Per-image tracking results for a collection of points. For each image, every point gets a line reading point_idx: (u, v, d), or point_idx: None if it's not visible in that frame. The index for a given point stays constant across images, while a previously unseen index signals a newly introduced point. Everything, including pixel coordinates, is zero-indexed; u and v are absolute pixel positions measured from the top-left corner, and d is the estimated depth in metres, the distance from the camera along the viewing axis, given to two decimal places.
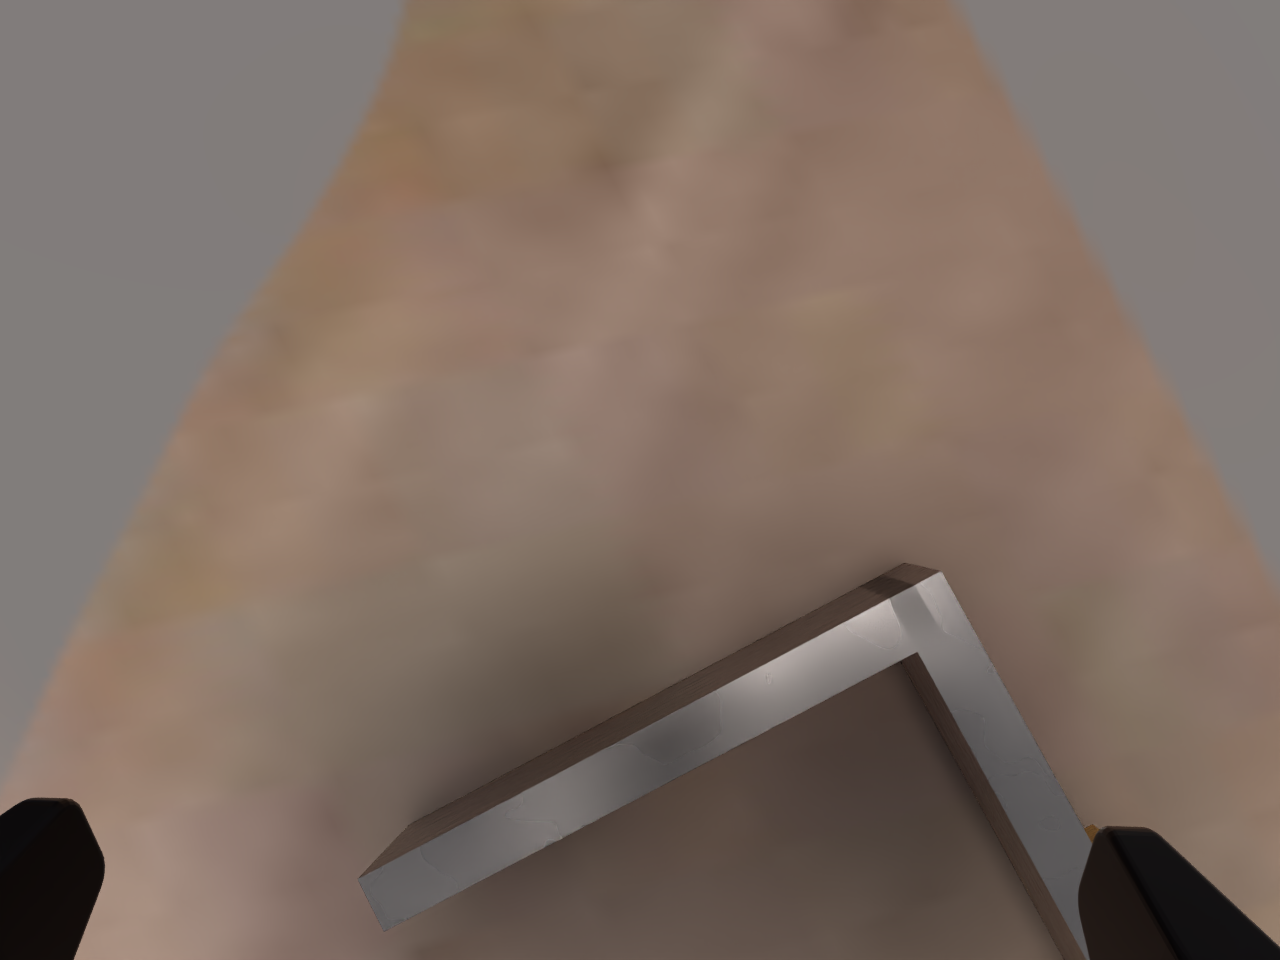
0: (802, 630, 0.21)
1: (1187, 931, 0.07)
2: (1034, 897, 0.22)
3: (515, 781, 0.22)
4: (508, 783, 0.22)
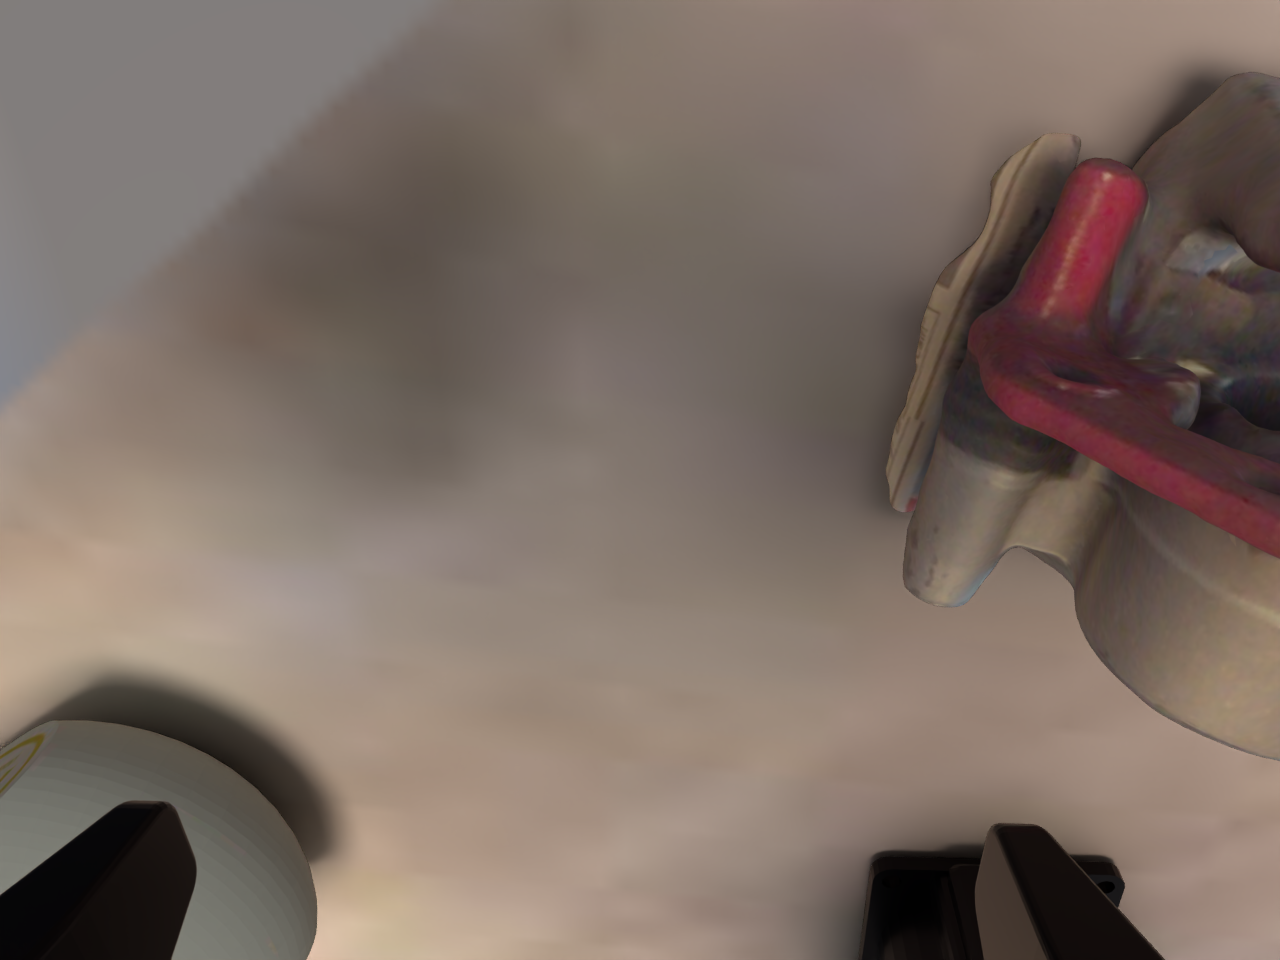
0: None
1: (1060, 927, 0.07)
2: None
3: None
4: None
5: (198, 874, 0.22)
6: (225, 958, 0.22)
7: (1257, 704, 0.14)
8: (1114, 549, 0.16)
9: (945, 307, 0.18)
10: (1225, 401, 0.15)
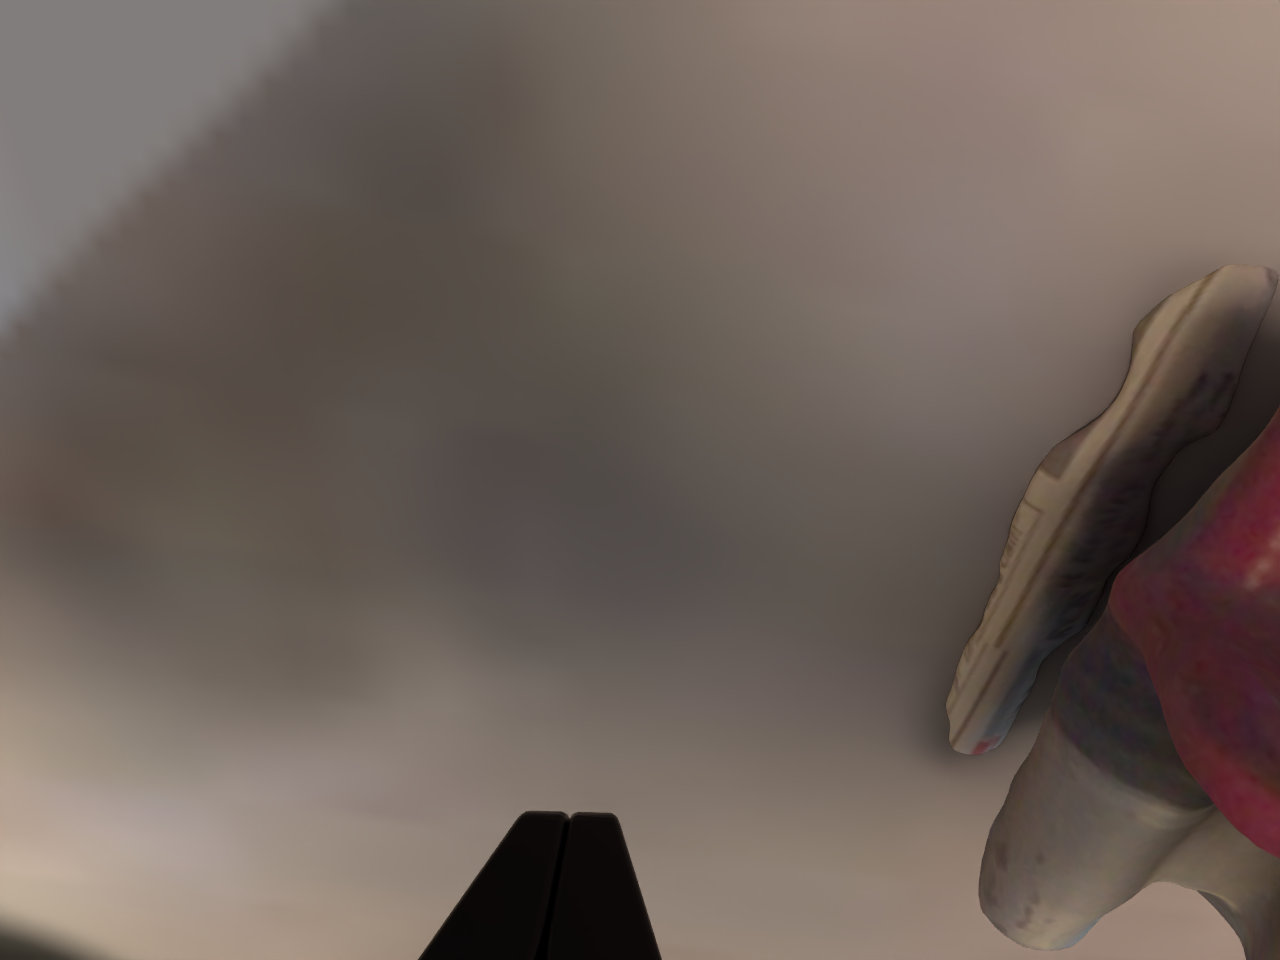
0: None
1: (572, 910, 0.07)
2: None
3: None
4: None
5: None
6: None
7: None
8: None
9: (1052, 505, 0.12)
10: None
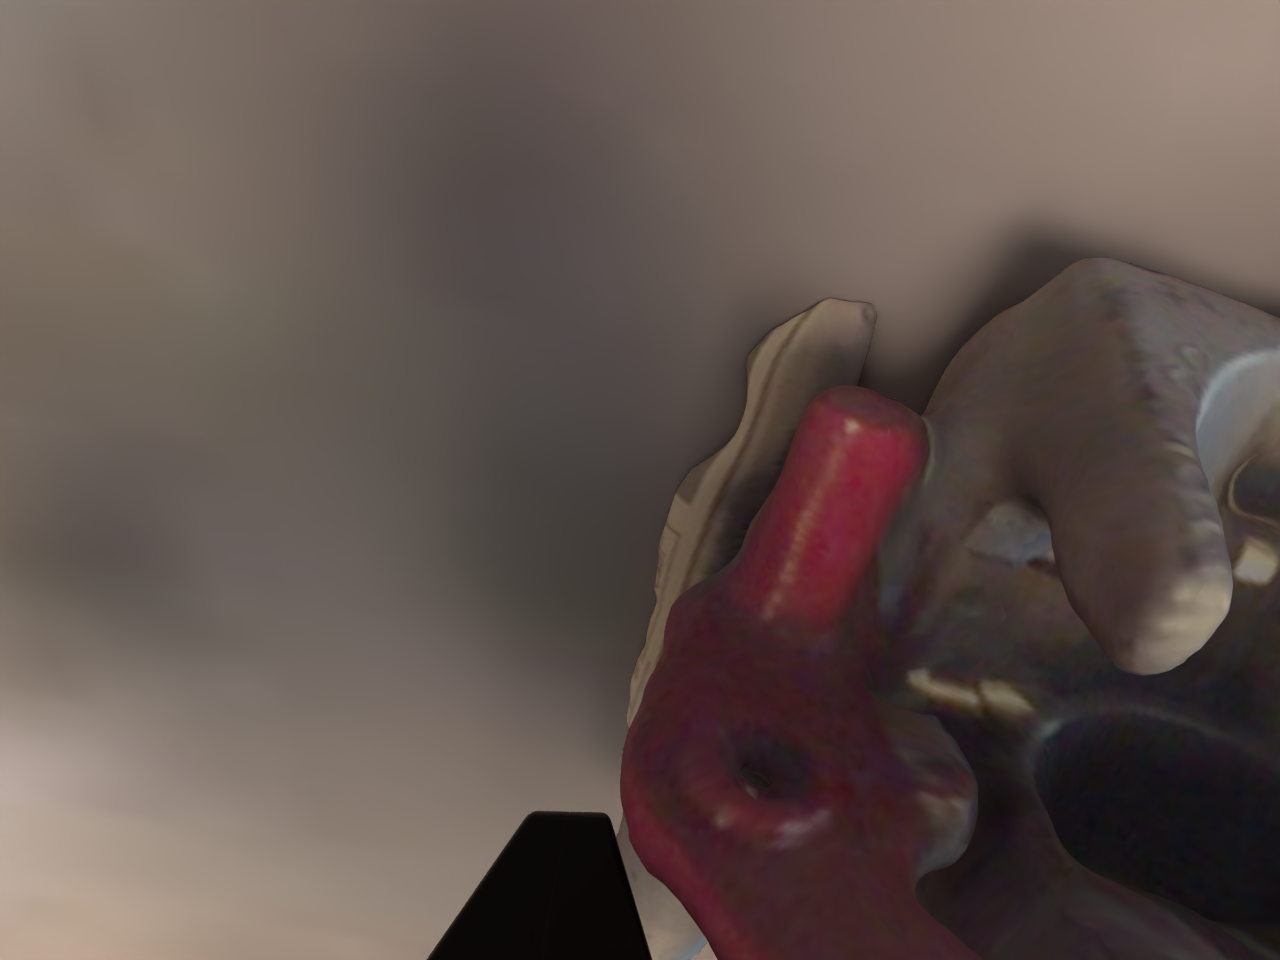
0: None
1: (562, 910, 0.07)
2: None
3: None
4: None
5: None
6: None
7: None
8: None
9: (686, 529, 0.12)
10: (1042, 769, 0.09)
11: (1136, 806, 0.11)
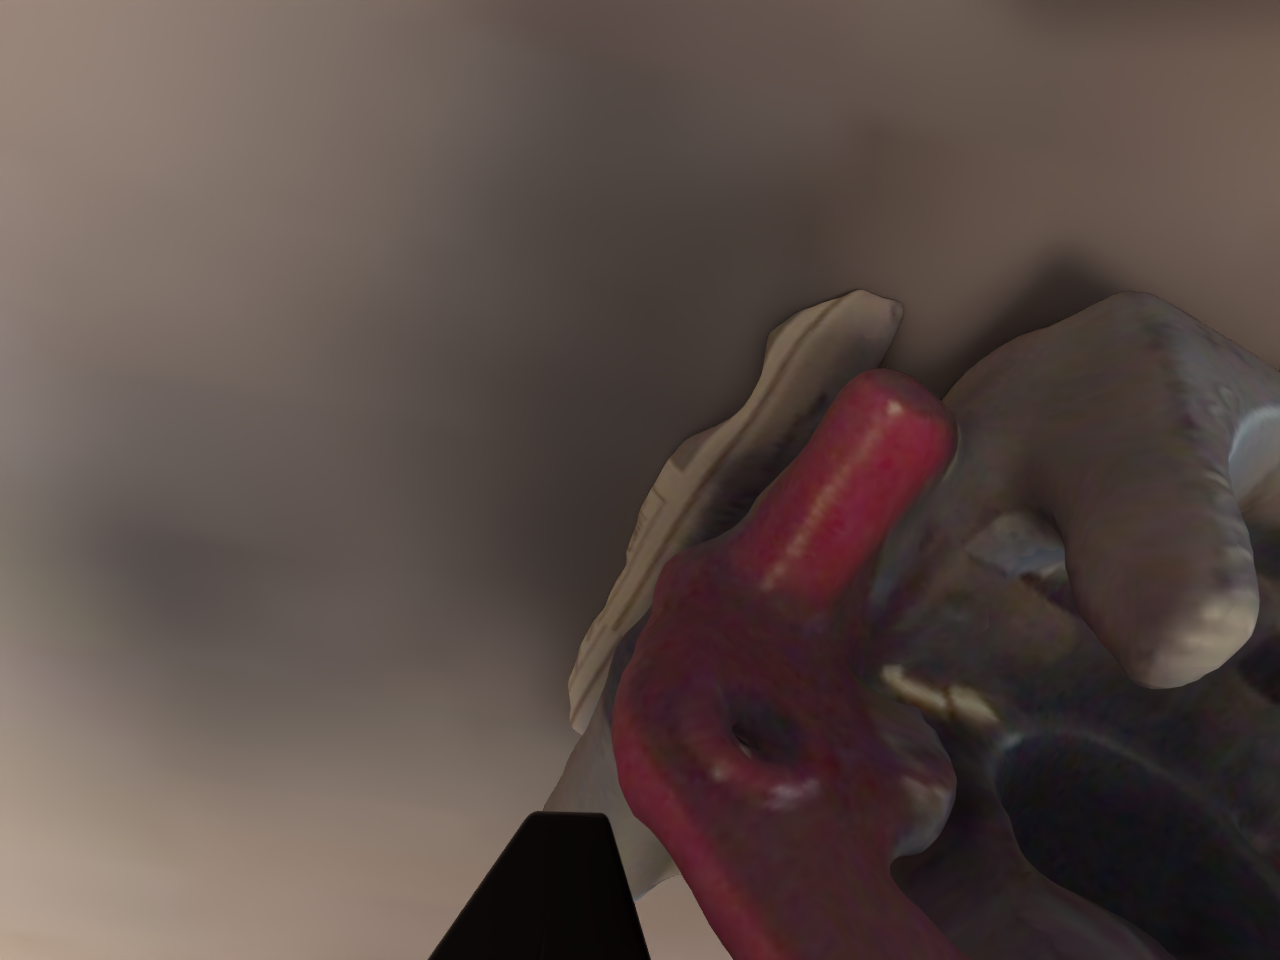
0: None
1: (561, 910, 0.07)
2: None
3: None
4: None
5: None
6: None
7: None
8: None
9: (673, 496, 0.12)
10: (1001, 778, 0.10)
11: (1069, 830, 0.11)
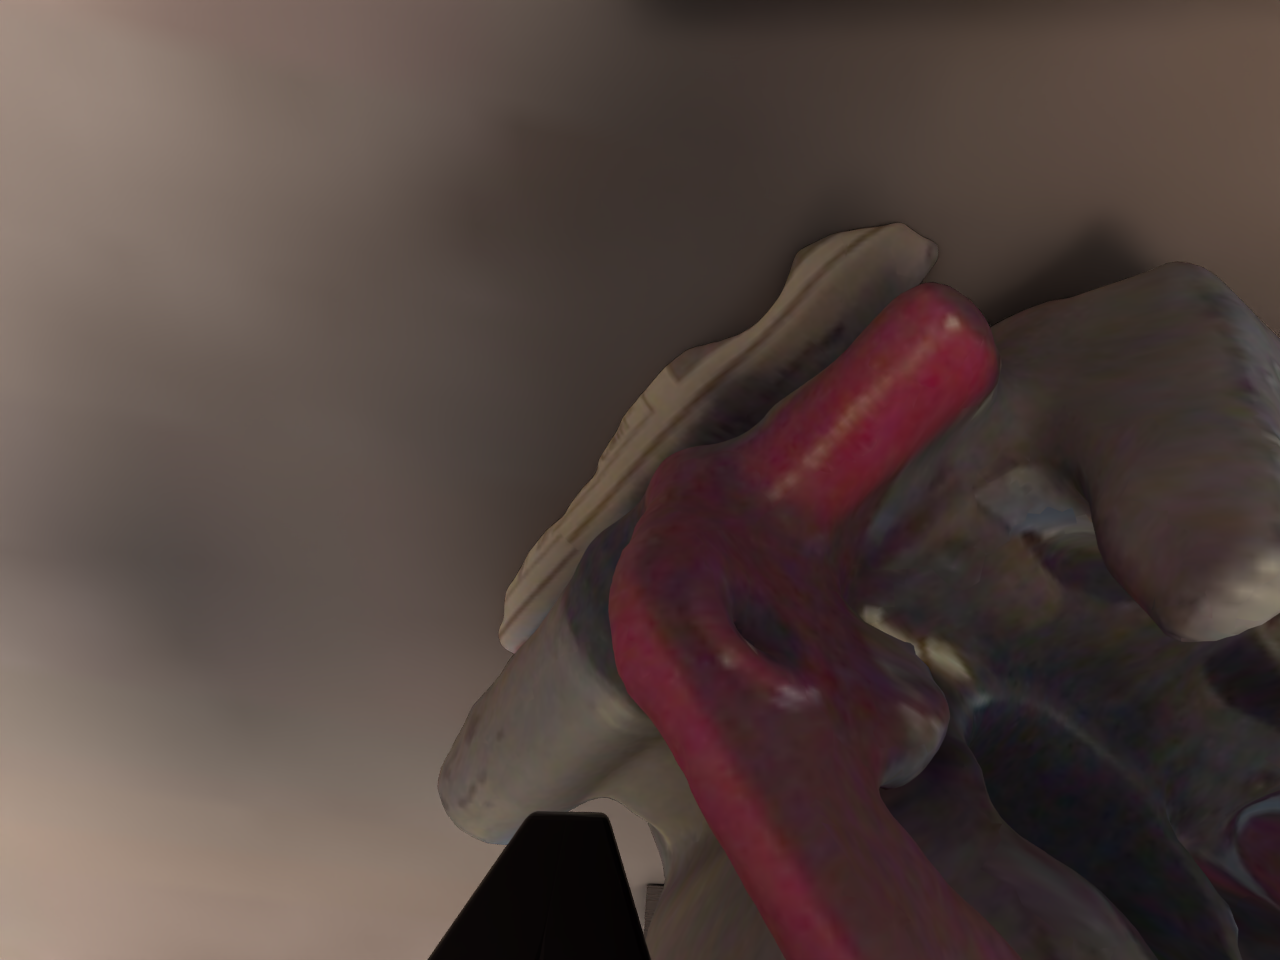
0: None
1: (561, 910, 0.07)
2: None
3: None
4: None
5: None
6: None
7: None
8: (728, 883, 0.10)
9: (663, 406, 0.12)
10: (969, 734, 0.09)
11: (1009, 804, 0.11)
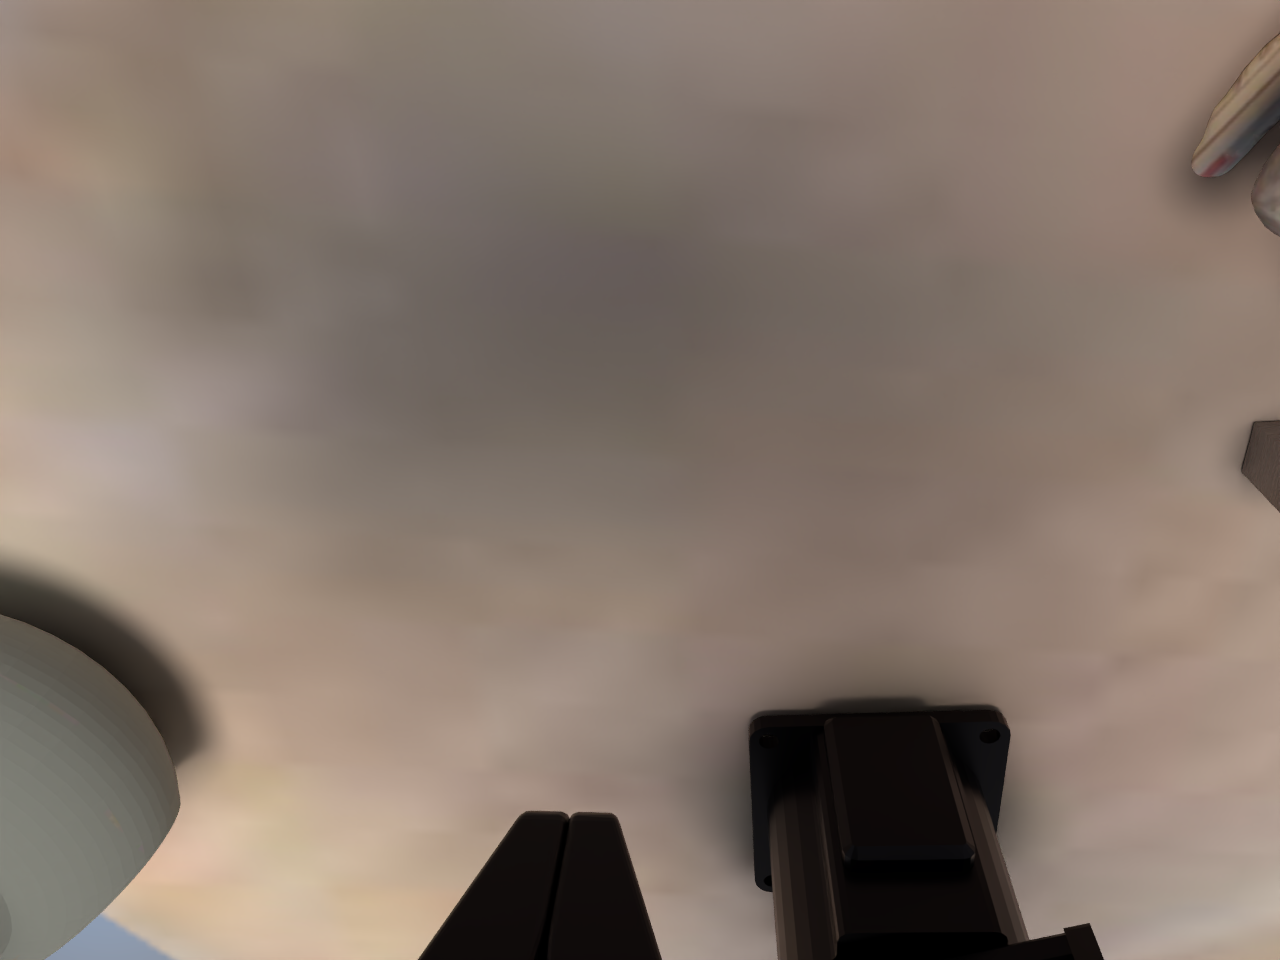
0: None
1: (572, 911, 0.07)
2: None
3: None
4: None
5: (22, 740, 0.21)
6: (58, 828, 0.21)
7: None
8: None
9: None
10: None
11: None
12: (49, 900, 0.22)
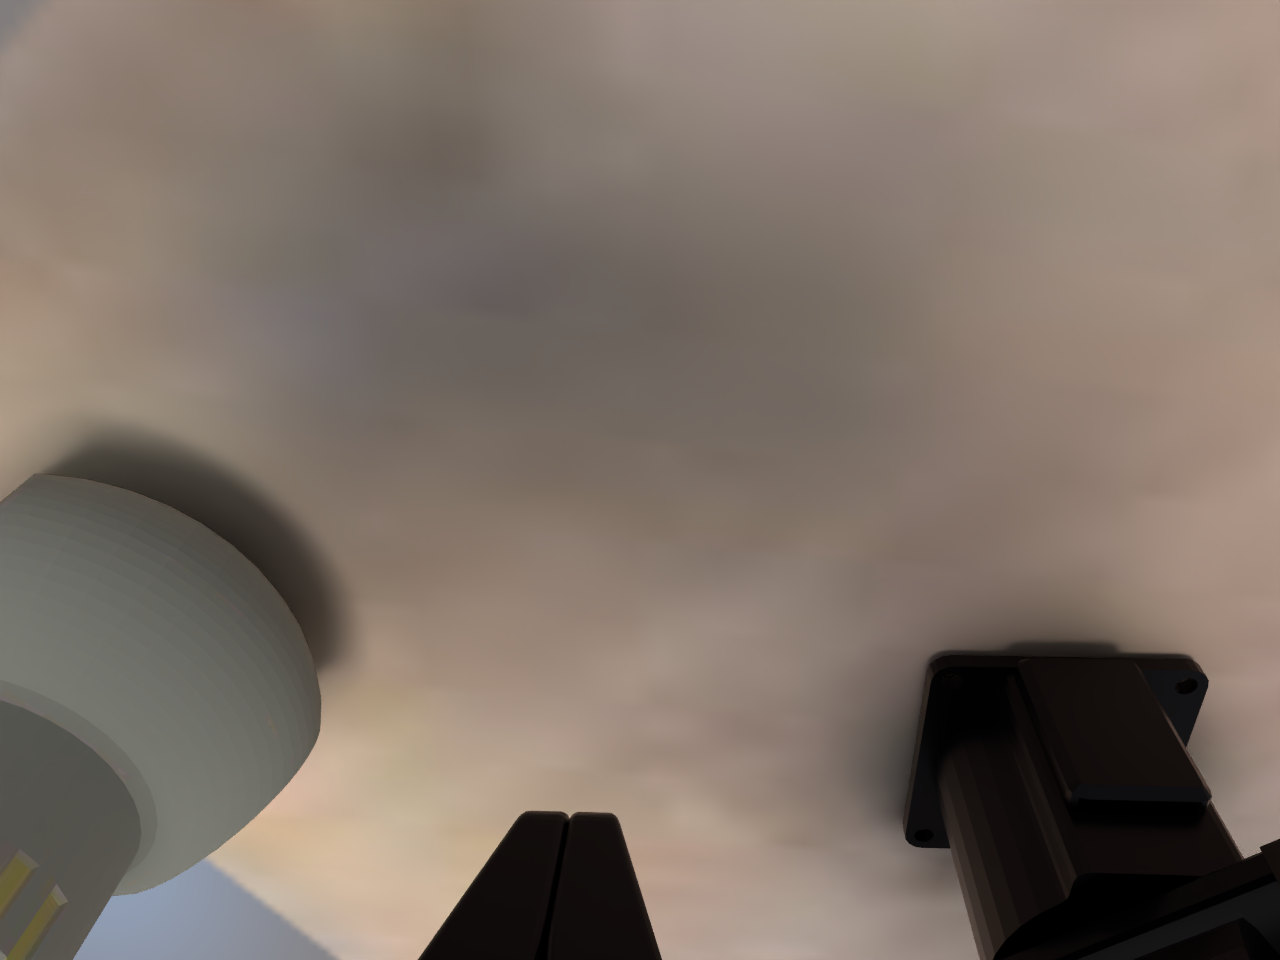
0: None
1: (572, 911, 0.07)
2: None
3: None
4: None
5: (190, 628, 0.19)
6: (219, 728, 0.20)
7: None
8: None
9: None
10: None
11: None
12: (199, 808, 0.20)
